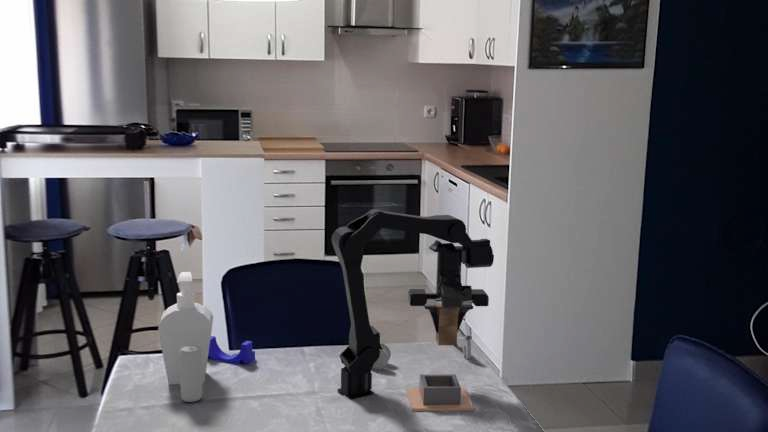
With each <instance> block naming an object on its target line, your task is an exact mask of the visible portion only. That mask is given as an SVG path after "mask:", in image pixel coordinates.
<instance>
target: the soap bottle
mask: <svg viewBox="0 0 768 432" xmlns="http://www.w3.org/2000/svg"><path fill="white" fill-rule="evenodd" d="M192 276H193V275H192V272H191V271H182V272H180V273H179V275H178V277H177V279H176V283H177V284H180V289H181V290H180V292H177V293H176V303H174V304H172V305H171V306H168V307H167V308H166V310H164V311H163V312H162V314H161V315H162V316H161V319H160V320H159V325H158V327H157V331H158V338H159V341H160V348H161V353H162V357H163V362H164V366H165V372H166V374H165V375H166V378H167V382H168V385H170V386H171V385H181V383H180V348H181V347H183V346H186V345H198V346H200V347H201V351H202V384H205V381H206V373H207V368H208V367H207V366H208V360H209V358H208V353H209V345H210V338H211V336H212V330H213V324H214V323H213V322H214V316H213V312H212V311H211V310H210V309H209V307H208V308H207V306H206V305H203V304H201V303H199V302H195V298H196V297H195V292H192V291H191V284H193V277H192Z"/></svg>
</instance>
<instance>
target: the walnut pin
mask: <svg viewBox="0 0 768 432" xmlns="http://www.w3.org/2000/svg"><path fill="white" fill-rule="evenodd" d="M436 306H437V317H438V333H436V332H435V340H436V343H437V345H438V346H458V344H457V337H458V332H457V327H458V308H457V307H448V308H446V307H443V306H442V303H437V304H436Z"/></svg>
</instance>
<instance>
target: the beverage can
mask: <svg viewBox="0 0 768 432" xmlns="http://www.w3.org/2000/svg"><path fill="white" fill-rule="evenodd" d="M180 383H181V384H180V399H181V400H182V401H183V402H185V403H194V402H198V401H200V400H201V399H202V397H203V383H202V351H201V347H200V346H198V345H186V346H183V347H181V348H180Z"/></svg>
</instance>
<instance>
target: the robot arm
mask: <svg viewBox="0 0 768 432" xmlns="http://www.w3.org/2000/svg"><path fill="white" fill-rule="evenodd" d="M382 229H385V230H393V231H400V232H401V231H402V232H409V233H415V234H423V235H428V236H431V237H434V238H437V239H439V240H441V241H445V242H446V243H445V242H444V243H442V242H441V241H439V240H437V239H436V240H435V241H434V243H432V244H431V245H429V246H428V249H429V250H430V251H432V252H434V253H437V260H436V283H435V284H436V288H435V289H436V291H435V292H434V293H433V292H429V293H427V292H426V289H425V288H410V289H409V290H408V291H407V301H408V303H409V306H411V307H423V308H424V310H428V311H429V314H430V316H431V319H432V323H433V326H434V330H435V334H436V333H438V317H437V304H436V303H437V302H441V304H442V306H443V307H446V308H448V307H457V308H458V327H457V333H458V332H459V330H460V328H461V325H462V322H463V320H464V317H465V316H466V314H467V313H468V312H469V311H470V310H473V309H474V306H475V307H488V306H489V303H490V302H489V300H490V298H489V295H488V293H487V292H486V291H485V290H484V289H482V288H481V289H480V288H477V289H475V288H472V285H463V284H462V264H463V265H464V266H465V267H466V268H467V269H477V268H479V269H480V268H491V267H492V266H493V264H494V261H495V254H494V252H493V248H492V246H491V240H490V239H488V238H481V239H472V238H471V237H470V235H469V234H468V233H467V227H466V224H465V222H464V221H463V220H462V219H459V218H457V217H455V216H452V215H450V214H440V215H439V214H436V215H430V216H420V215H413V214H407V213H399V212H394V211H393V212H392V211H385V210H380V209H378V208H373V209H370V210H369V211H367V212H366V213H365V214H364V215H362V216H360V217H358V218H356V219H354V220H352V221H350V222H349V223H348V224H347V225H345V226H340V227H337V229H335V230H334V232H333V233H332V235H331V243H332V247H333V250H334V252H335V254H336V257H337V259H338V261H339V264H340V266H341V268H342V269H341V271H342V274H343V281H344V288H345V294H346V298H347V299H346V301H347V307H348V313H349V318H350V328H349V334H348V346H346V347H345V349H344V350H343V351H342V352H341V353H340V354H339V355H338V358H339V359H340V361H341V364H343V367H341V368H340V388H337V391H336V392H338V393H339V394H341V395H342V396H344V397H346V398H347V399H349V400H351V401H352V400H357V399H361V398H364V397H368V396H369V397H370V396H373V395H374V394H375V391H373V390H372V389H373V388H372V385H373V384H372V383H373V373H372V369H374V368H373V365H374V363H375V362H376V361H377V360H378V358H379V357H380V349H381V350H382V347H381V345H380V342H381V334H380V332H379V331H378V330H377V329H376V328H375V327H374V326H373V325H371V324H370V317H369V312H368V304H367V300H366V292H365V286H364V281H363V280H364V278H363V272H362V263H363V258H364V246H365V245H366V244H368V243H369V242H370V241H371V240H372V239H373V238H374V237H375V236H376V235H377V233H379V231H381V230H382ZM455 244H458V245H456V246H455Z"/></svg>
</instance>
